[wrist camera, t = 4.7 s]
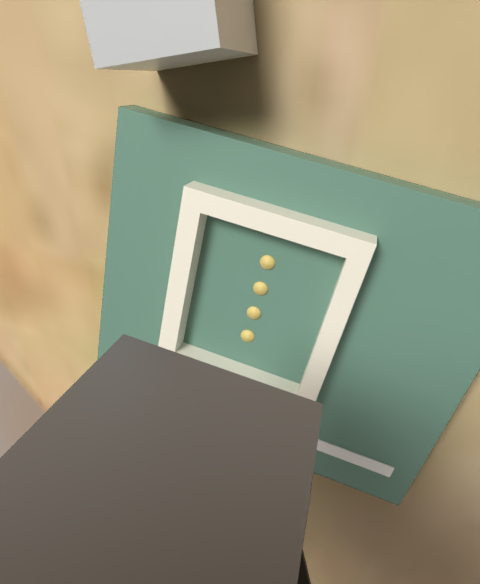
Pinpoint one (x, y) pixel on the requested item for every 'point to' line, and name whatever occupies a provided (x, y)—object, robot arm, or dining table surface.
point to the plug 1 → (168, 32)
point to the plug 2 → (160, 477)
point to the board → (299, 284)
